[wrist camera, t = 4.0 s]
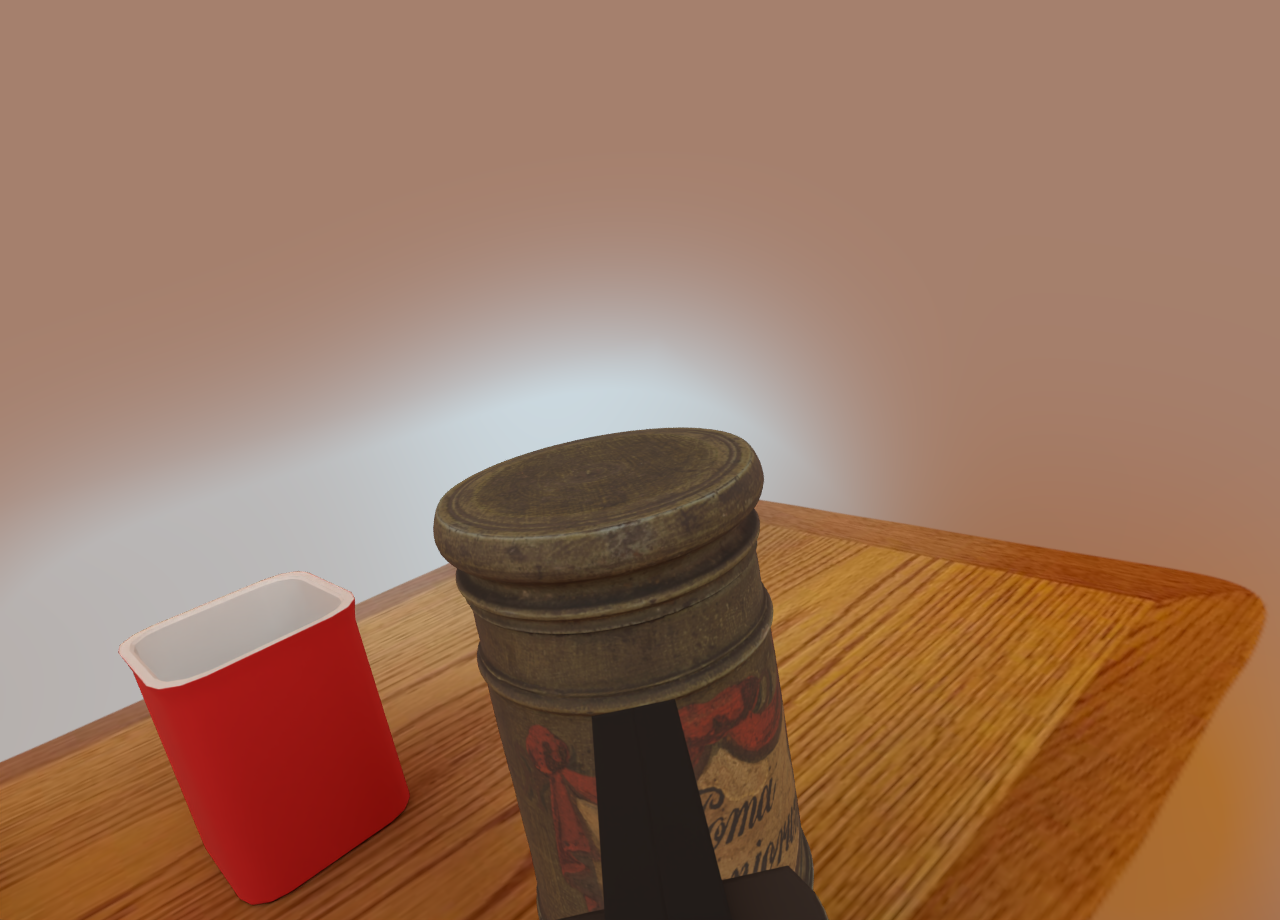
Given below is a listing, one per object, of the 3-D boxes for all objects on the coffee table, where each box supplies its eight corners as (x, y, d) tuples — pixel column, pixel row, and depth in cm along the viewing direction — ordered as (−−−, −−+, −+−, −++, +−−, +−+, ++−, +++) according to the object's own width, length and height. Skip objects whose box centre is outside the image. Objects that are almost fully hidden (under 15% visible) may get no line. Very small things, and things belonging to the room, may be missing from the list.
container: (510, 1007, 25) (361, 501, 20) (707, 847, 30) (626, 411, 25) (689, 1264, 18) (526, 581, 13) (907, 1000, 23) (848, 434, 18)
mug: (429, 801, 36) (367, 599, 33) (249, 927, 30) (157, 699, 27) (325, 720, 44) (269, 554, 41) (170, 807, 39) (93, 623, 36)
